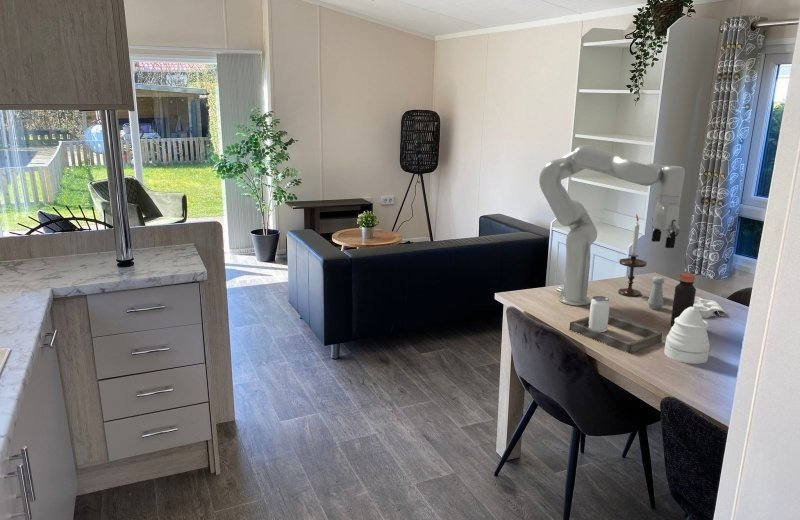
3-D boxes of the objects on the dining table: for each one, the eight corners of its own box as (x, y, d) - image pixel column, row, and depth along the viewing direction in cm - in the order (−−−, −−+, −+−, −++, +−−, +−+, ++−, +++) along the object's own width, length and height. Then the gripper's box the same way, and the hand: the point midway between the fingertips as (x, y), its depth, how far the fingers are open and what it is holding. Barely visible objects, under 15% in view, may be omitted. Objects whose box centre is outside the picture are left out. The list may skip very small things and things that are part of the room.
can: (607, 327, 215) (610, 296, 212) (606, 334, 209) (610, 302, 206) (588, 325, 217) (591, 294, 214) (588, 331, 211) (591, 300, 208)
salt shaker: (660, 306, 239) (664, 275, 235) (664, 310, 233) (668, 279, 230) (645, 305, 239) (649, 274, 236) (649, 310, 234) (653, 279, 230)
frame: (569, 330, 212) (569, 322, 212) (600, 320, 223) (600, 312, 222) (630, 353, 193) (631, 345, 192) (661, 341, 203) (662, 333, 202)
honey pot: (716, 361, 188) (725, 308, 183) (683, 365, 184) (691, 311, 180) (687, 345, 200) (694, 295, 195) (655, 349, 196) (662, 298, 192)
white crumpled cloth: (727, 320, 224) (685, 317, 227) (714, 305, 241) (676, 302, 244) (728, 312, 223) (687, 309, 227) (716, 297, 240) (677, 294, 243)
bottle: (674, 321, 221) (681, 271, 216) (693, 326, 217) (700, 274, 211) (667, 326, 217) (674, 274, 212) (686, 331, 212) (693, 278, 207)
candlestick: (611, 293, 254) (619, 213, 245) (623, 288, 261) (632, 210, 252) (635, 299, 247) (645, 217, 238) (647, 293, 254) (656, 214, 245)
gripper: (647, 195, 225) (641, 239, 229) (672, 203, 208) (665, 250, 213) (666, 195, 225) (659, 239, 230) (692, 204, 209) (684, 250, 213)
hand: (662, 244), depth 221 cm, fingers open, 9 cm apart
